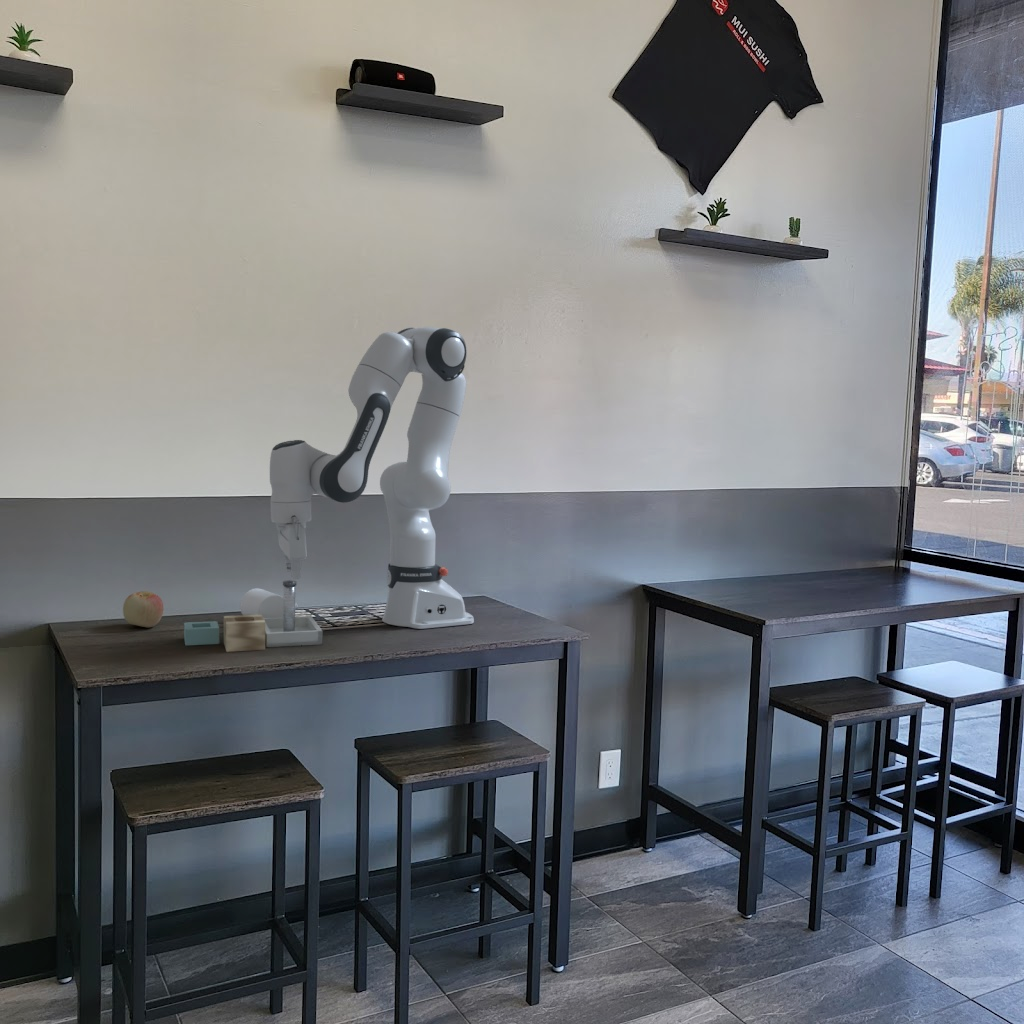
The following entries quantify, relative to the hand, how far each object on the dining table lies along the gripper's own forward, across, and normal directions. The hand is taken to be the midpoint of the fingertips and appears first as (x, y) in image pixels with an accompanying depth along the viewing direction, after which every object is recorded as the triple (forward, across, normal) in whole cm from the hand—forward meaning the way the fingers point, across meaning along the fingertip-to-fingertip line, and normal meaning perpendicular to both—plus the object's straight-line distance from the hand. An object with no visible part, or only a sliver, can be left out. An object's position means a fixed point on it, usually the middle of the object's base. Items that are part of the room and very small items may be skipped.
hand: (293, 574), depth 223 cm
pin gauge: (+14, 0, +1) cm, 14 cm away
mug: (+15, +16, +3) cm, 22 cm away
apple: (+13, +18, +32) cm, 39 cm away
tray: (+14, 0, +1) cm, 14 cm away
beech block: (+14, -6, +12) cm, 19 cm away
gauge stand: (+14, +1, +20) cm, 24 cm away
